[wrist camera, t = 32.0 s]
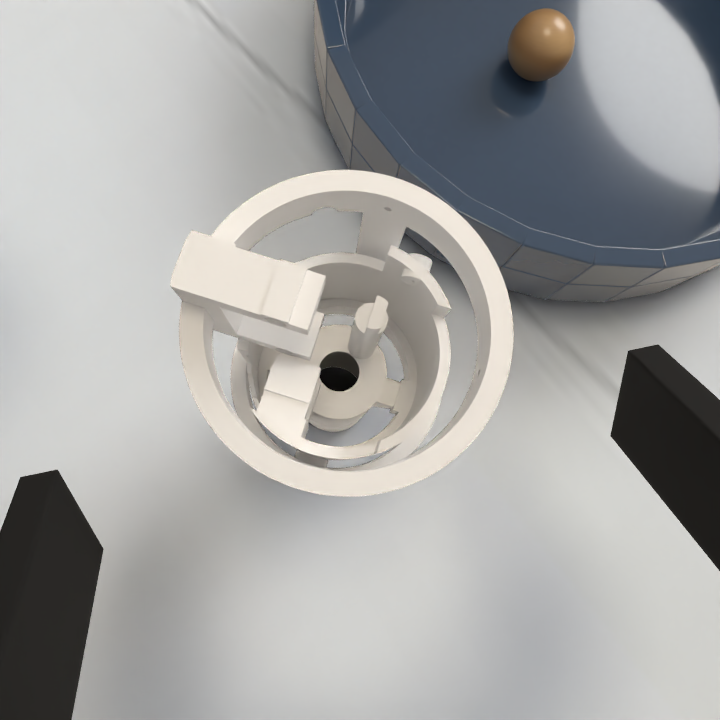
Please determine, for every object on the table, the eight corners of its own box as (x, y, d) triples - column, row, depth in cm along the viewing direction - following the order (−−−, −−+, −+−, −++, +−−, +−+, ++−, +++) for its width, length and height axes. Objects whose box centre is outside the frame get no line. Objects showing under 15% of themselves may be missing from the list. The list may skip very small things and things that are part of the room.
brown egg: (535, -10, 27) (519, 55, 30) (504, 12, 26) (489, 79, 28) (595, 9, 26) (573, 75, 29) (566, 33, 25) (546, 101, 27)
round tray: (209, 79, 28) (183, -11, 23) (516, -215, 32) (555, -350, 27) (614, 412, 27) (688, 400, 21) (878, 58, 31) (996, -27, 26)
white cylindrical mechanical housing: (283, 299, 27) (238, 96, 12) (431, 347, 27) (570, 204, 12) (230, 449, 25) (106, 432, 11) (386, 499, 25) (479, 549, 11)
